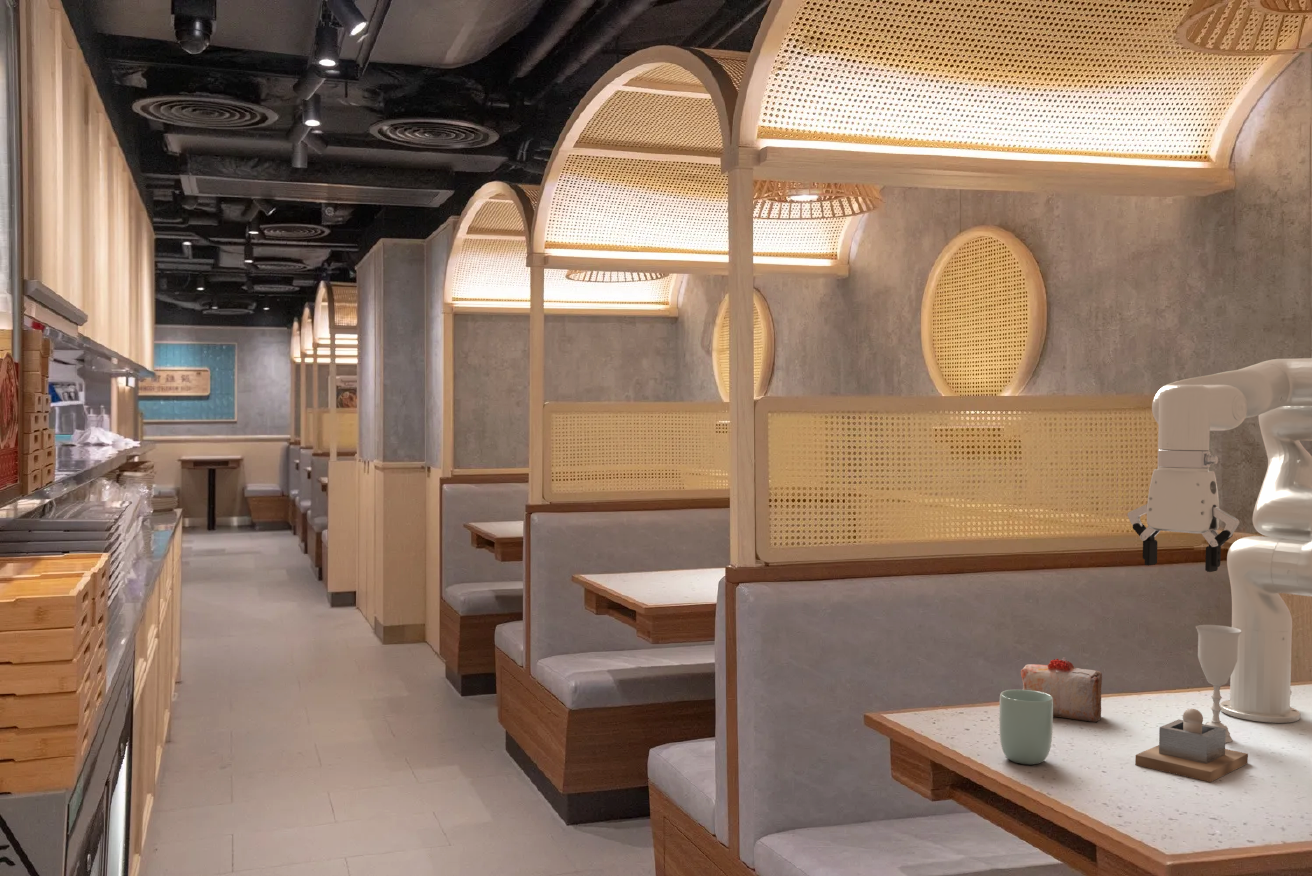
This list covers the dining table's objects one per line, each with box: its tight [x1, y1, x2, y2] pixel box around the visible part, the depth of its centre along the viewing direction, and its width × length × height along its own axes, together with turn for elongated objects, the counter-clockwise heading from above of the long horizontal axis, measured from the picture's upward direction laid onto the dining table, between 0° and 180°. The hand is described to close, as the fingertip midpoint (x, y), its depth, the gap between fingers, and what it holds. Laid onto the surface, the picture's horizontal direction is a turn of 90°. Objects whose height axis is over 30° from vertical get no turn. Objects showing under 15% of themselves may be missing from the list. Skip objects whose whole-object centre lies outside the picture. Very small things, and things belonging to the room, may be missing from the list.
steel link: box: [1158, 719, 1226, 764], centre depth 177 cm, size 7×7×4 cm
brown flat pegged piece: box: [1134, 708, 1249, 783], centre depth 177 cm, size 14×11×8 cm
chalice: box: [1195, 624, 1241, 743], centre depth 191 cm, size 7×7×18 cm
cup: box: [998, 689, 1054, 765], centre depth 177 cm, size 8×8×10 cm
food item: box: [1020, 656, 1103, 723], centre depth 206 cm, size 14×8×10 cm, turn 60°
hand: (1180, 567), depth 188 cm, fingers open, 9 cm apart
